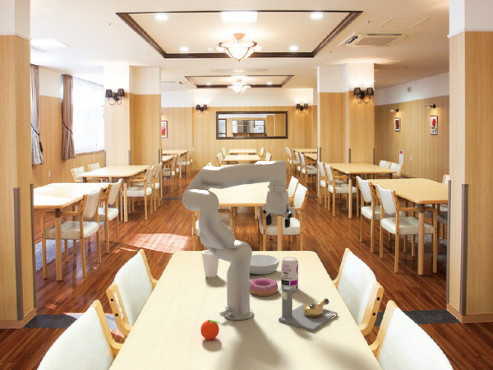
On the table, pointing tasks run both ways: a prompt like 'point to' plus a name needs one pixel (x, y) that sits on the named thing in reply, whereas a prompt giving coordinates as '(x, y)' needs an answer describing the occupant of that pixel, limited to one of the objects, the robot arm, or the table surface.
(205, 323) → the clementine
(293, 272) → the white soda can
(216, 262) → the foam cup
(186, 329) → the table surface
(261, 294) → the donut
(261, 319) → the table surface
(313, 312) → the gold pan with handle
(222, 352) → the table surface
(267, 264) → the serving bowl
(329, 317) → the stand
